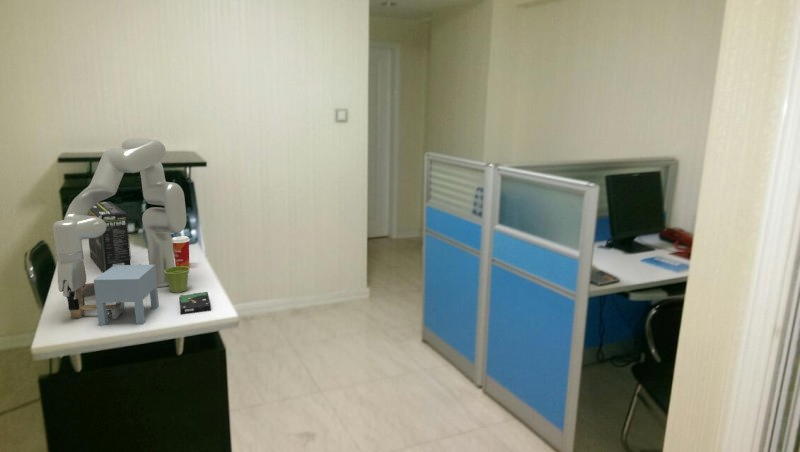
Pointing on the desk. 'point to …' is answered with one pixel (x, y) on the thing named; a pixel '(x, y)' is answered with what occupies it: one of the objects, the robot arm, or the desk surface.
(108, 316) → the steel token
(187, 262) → the paper cup
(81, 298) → the wooden mallet
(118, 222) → the router box
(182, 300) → the disk drive
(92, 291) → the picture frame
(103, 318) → the blue-grey small table
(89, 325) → the desk surface
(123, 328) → the desk surface
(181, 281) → the plant pot
